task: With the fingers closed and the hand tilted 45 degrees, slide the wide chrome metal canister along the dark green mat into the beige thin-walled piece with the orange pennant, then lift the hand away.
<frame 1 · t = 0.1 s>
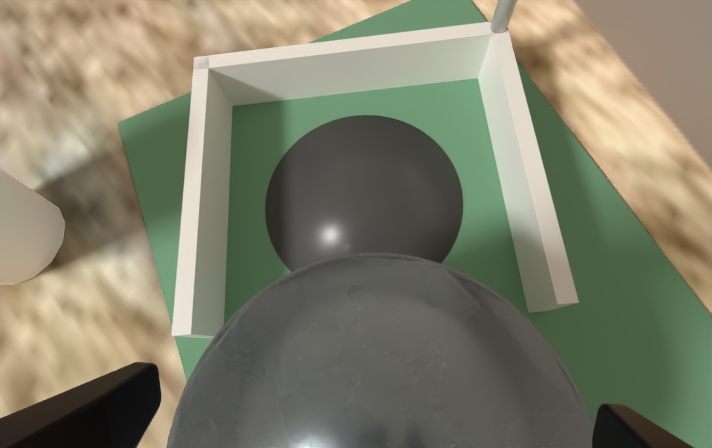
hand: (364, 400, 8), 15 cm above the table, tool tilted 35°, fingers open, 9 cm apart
green mat: (391, 248, 24), on the table
foam cup: (23, 240, 27), on the table
chrome metal canister: (380, 419, 21), resting on green mat, touching beige thin-walled piece
beige thin-walled piece: (362, 199, 25), resting on green mat
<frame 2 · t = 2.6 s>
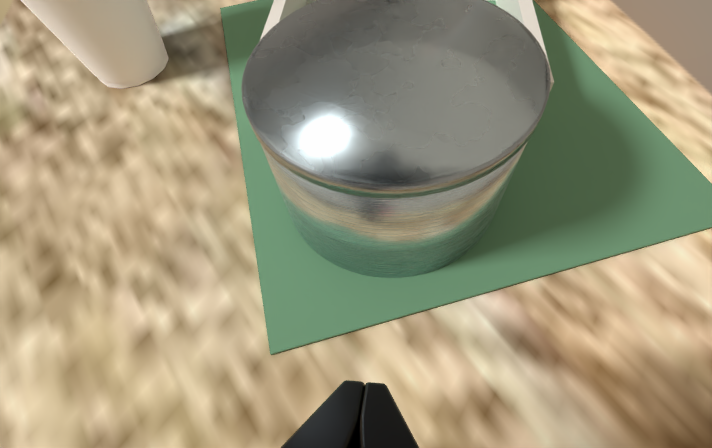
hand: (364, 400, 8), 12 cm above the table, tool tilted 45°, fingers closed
green mat: (413, 87, 31), on the table
foam cup: (135, 67, 35), on the table
chrome metal canister: (389, 181, 26), resting on green mat, touching beige thin-walled piece
beige thin-walled piece: (395, 58, 32), resting on green mat
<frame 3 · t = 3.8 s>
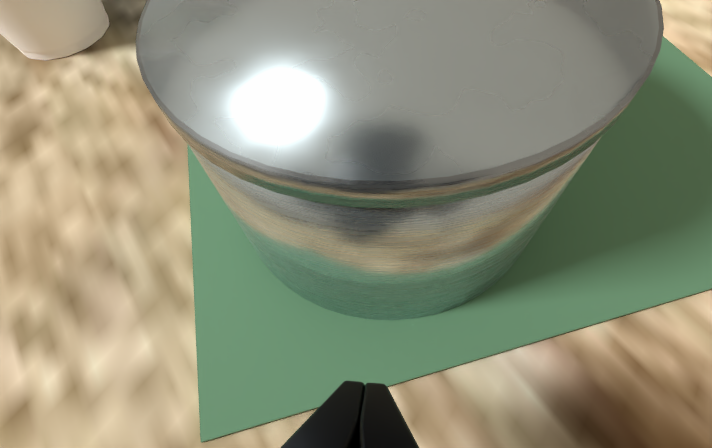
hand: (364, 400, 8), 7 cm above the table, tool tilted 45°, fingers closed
green mat: (417, 58, 24), on the table
foam cup: (67, 35, 28), on the table
chrome metal canister: (385, 179, 19), resting on green mat, touching beige thin-walled piece
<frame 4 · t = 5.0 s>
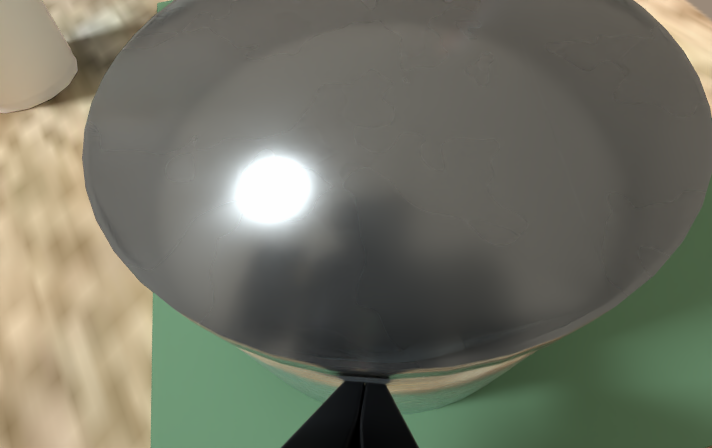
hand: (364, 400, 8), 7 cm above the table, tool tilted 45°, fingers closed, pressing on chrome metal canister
green mat: (414, 116, 21), on the table
foam cup: (31, 82, 25), on the table
chrome metal canister: (381, 240, 17), resting on green mat, touching gripper
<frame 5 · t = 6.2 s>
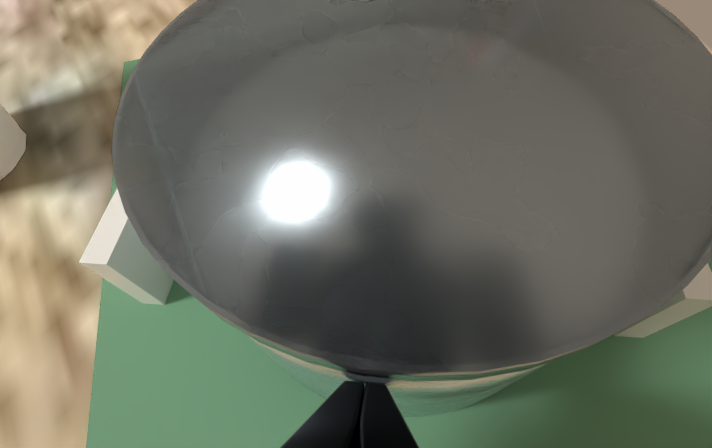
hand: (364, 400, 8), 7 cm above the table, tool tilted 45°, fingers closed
green mat: (416, 225, 18), on the table
chrome metal canister: (396, 242, 17), resting on green mat, touching gripper, beige thin-walled piece
beige thin-walled piece: (386, 165, 19), resting on green mat
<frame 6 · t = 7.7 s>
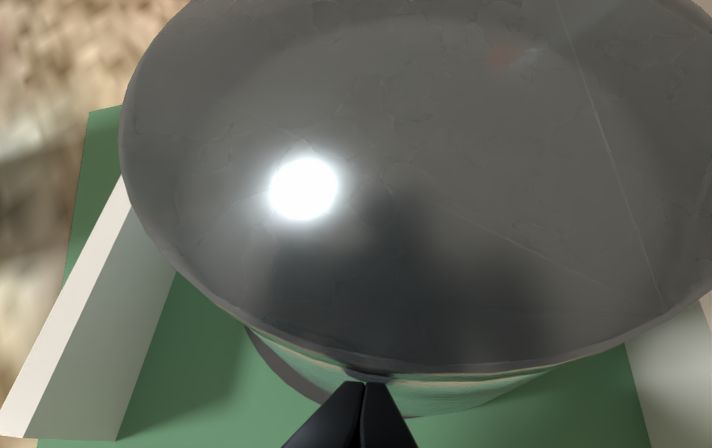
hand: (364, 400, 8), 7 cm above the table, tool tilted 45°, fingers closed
green mat: (418, 334, 15), on the table
chrome metal canister: (403, 239, 17), resting on green mat, touching gripper, beige thin-walled piece
beige thin-walled piece: (383, 252, 17), resting on green mat
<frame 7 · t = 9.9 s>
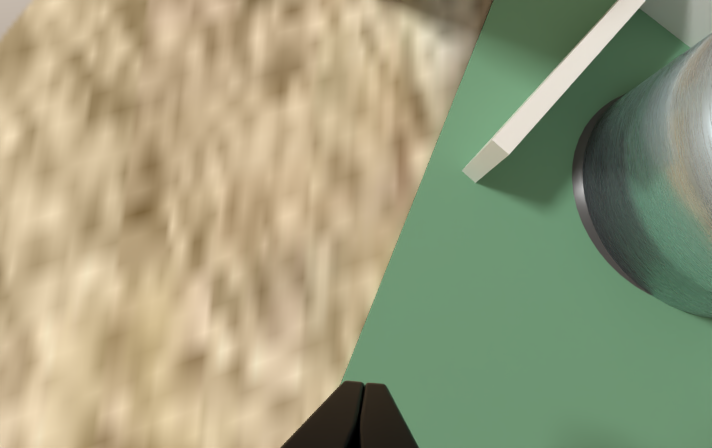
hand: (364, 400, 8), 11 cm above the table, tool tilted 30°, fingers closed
green mat: (670, 253, 21), on the table
chrome metal canister: (700, 192, 22), resting on green mat, touching beige thin-walled piece
beige thin-walled piece: (682, 191, 22), resting on green mat
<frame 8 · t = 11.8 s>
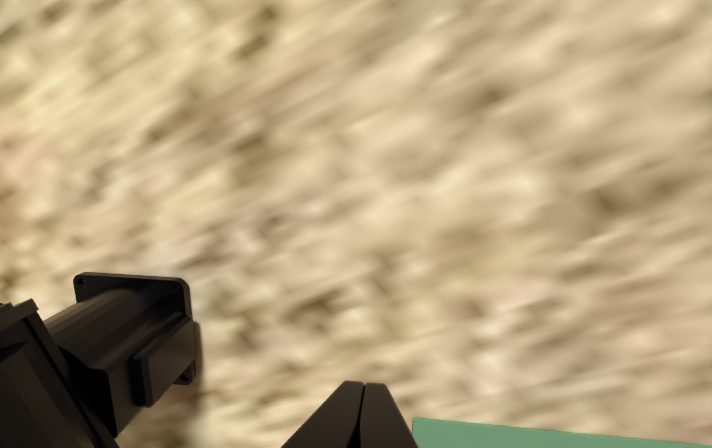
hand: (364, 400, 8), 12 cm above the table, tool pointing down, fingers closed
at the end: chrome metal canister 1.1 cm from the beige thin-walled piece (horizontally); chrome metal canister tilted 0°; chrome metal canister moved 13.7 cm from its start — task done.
